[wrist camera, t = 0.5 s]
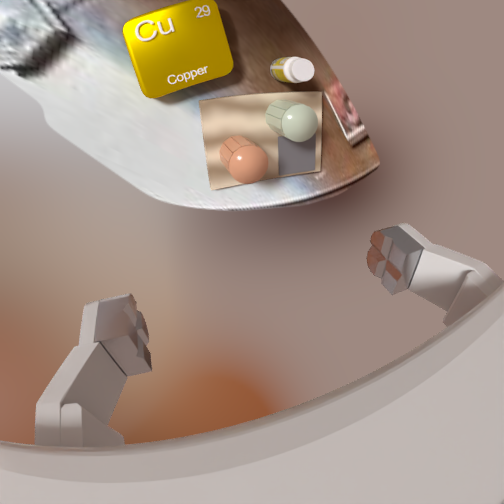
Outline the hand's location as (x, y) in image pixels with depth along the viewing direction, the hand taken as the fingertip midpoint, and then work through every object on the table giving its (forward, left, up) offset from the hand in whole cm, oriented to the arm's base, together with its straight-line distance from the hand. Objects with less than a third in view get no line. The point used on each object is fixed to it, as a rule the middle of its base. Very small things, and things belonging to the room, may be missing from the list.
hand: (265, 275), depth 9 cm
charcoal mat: (+12, +21, -42) cm, 48 cm away
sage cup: (+4, +18, -42) cm, 46 cm away
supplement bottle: (-5, +19, -43) cm, 48 cm away
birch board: (+8, +15, -43) cm, 47 cm away
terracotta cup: (+10, +9, -42) cm, 44 cm away
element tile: (-11, +1, -44) cm, 45 cm away
